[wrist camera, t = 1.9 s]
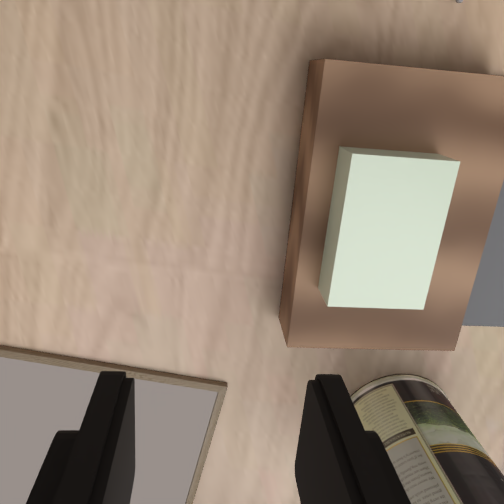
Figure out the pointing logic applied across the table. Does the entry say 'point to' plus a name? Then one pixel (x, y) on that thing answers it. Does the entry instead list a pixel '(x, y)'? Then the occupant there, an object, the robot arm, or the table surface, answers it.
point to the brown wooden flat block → (398, 139)
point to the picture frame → (73, 411)
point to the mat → (489, 276)
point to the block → (385, 227)
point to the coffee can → (428, 442)
